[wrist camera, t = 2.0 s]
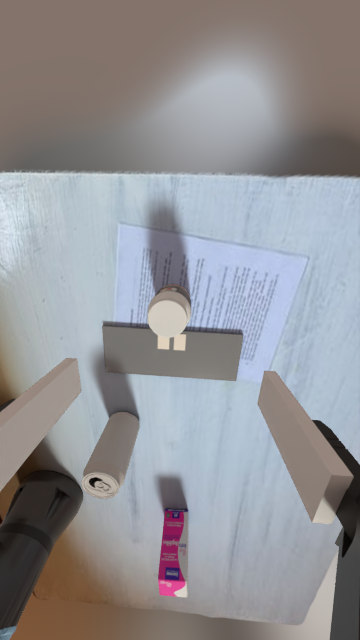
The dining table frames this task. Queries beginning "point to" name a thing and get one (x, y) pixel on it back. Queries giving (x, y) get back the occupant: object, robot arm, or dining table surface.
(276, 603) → the dining table surface
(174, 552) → the supplement box
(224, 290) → the dining table surface
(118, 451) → the beverage can
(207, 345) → the slate board
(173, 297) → the pill bottle
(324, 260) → the dining table surface
